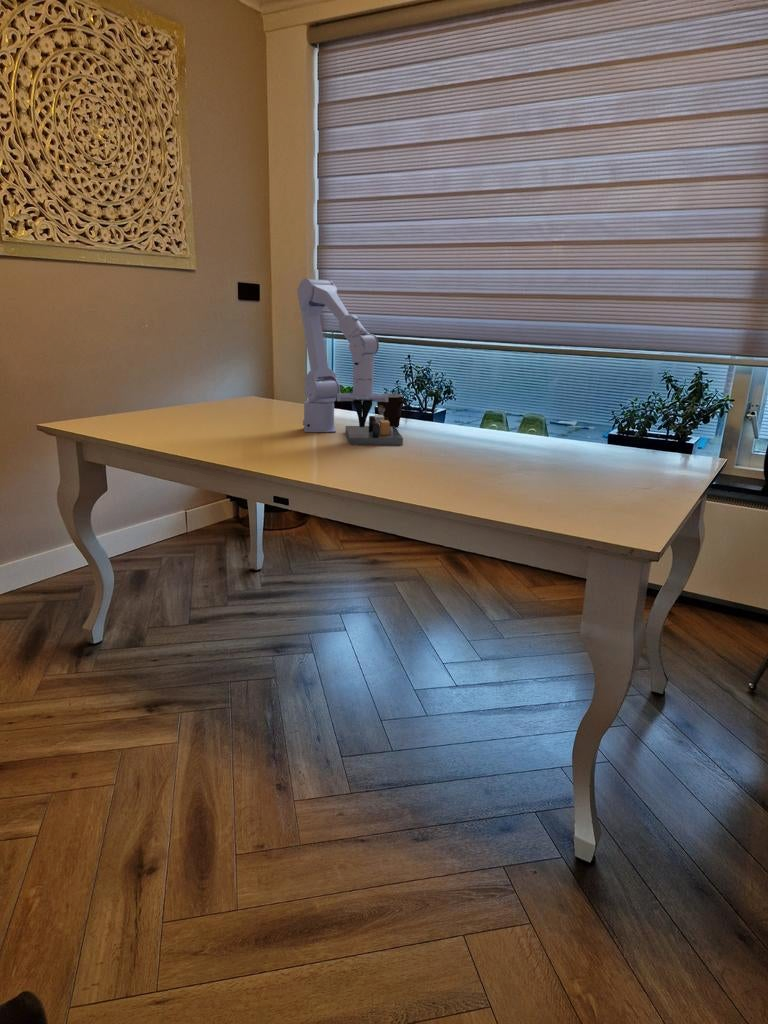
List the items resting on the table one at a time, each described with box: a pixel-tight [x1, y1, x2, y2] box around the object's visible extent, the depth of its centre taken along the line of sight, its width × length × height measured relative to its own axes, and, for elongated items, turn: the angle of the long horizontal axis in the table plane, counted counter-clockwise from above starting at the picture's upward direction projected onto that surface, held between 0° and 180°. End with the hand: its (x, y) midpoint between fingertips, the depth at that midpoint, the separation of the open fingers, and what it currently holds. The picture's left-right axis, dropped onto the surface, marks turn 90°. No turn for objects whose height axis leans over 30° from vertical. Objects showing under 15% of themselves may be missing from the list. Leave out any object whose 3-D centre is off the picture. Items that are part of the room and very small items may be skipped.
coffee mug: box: [376, 392, 409, 428], centre depth 211 cm, size 12×9×10 cm
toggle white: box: [374, 414, 384, 423], centre depth 200 cm, size 2×4×4 cm, turn 7°
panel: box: [345, 415, 404, 446], centre depth 194 cm, size 15×18×6 cm
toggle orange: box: [380, 420, 390, 435], centre depth 191 cm, size 2×4×4 cm, turn 7°
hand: (361, 426), depth 191 cm, fingers closed
